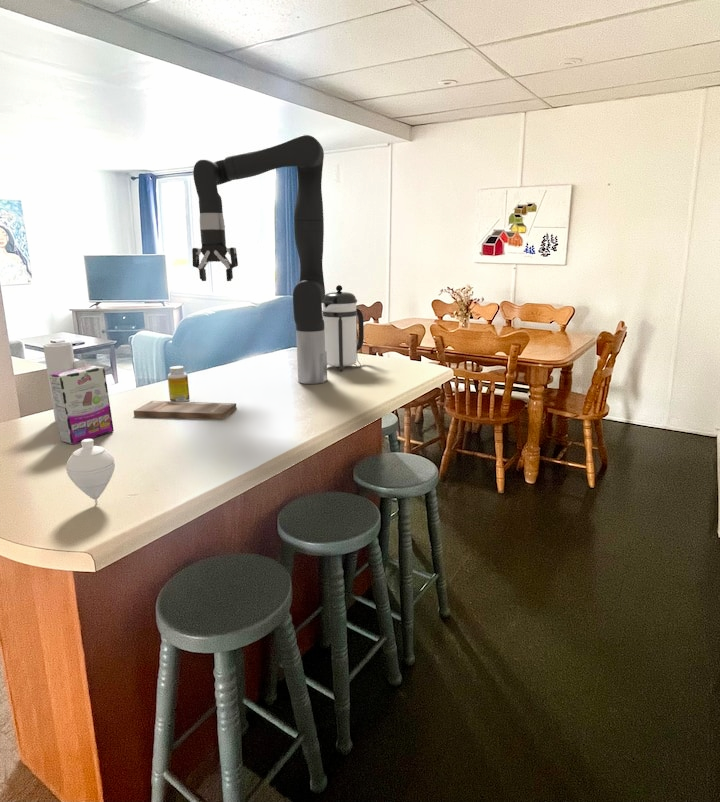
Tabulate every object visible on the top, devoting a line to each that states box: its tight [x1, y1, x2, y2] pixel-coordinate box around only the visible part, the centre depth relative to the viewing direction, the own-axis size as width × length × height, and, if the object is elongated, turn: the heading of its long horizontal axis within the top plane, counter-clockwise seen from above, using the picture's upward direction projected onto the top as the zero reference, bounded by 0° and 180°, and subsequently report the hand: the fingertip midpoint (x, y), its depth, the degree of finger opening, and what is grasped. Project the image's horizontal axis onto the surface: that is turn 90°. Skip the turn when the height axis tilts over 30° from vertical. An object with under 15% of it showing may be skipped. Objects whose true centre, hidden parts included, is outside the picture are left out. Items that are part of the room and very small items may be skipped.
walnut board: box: [133, 400, 238, 420], centre depth 155 cm, size 25×10×2 cm, turn 82°
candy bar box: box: [49, 364, 115, 445], centre depth 134 cm, size 11×5×16 cm, turn 148°
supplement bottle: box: [167, 365, 190, 402], centre depth 165 cm, size 6×6×10 cm
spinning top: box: [65, 438, 116, 505], centre depth 99 cm, size 8×8×12 cm
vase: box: [42, 342, 87, 424], centre depth 147 cm, size 11×7×20 cm, turn 66°
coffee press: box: [322, 284, 365, 372], centre depth 208 cm, size 17×16×30 cm
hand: (216, 281), depth 183 cm, fingers open, 8 cm apart
